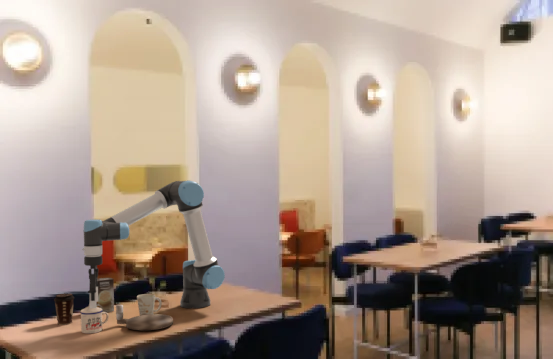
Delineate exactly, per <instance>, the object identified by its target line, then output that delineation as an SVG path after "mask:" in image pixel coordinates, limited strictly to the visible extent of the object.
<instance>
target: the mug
mask: <svg viewBox="0 0 553 359" xmlns="http://www.w3.org/2000/svg"><path fill="white" fill-rule="evenodd" d="M136 300H137V307H138V313H139V316H141V315H150V314H154V313H156V312H158V311H160V309H161V307H162V304H163V302H162V300H161V298H160V297H157V296H156V294H153V293H144V294H138V295H137V296H136ZM156 301H158V304H159V305H158V307H157V309H155V302H156Z"/></svg>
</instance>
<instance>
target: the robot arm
mask: <svg viewBox="0 0 553 359" xmlns="http://www.w3.org/2000/svg"><path fill="white" fill-rule="evenodd" d="M204 197H205V192H204V189H203V186H201V185H200V184H199V183H198V182H197V181H193V180H175V181H173V182H170V183H168V184H166V185H165V186H163V187H160V188H159V189H157V190H155V192H154V194H152V195H150V196H148V197H147V198H144V199H142V200H141V201H138V202H137V203H135V204H133V205H132V206H128V208H125V209H124V210H122V211H119V212H117V213H116V214H114V215H112V216H110V217H108V218H106V219H104V220H101V219H86V220H84V222H83V248H82V251H83V255H84V261H83V265H85V267H86V266H87V267H89V266H90V268H88V272H87V273H88V279H89V290H88V291H87V294H89V304H90V308H97V305H96V302H98V287H96V286H99V284H98V279H99V278H98V276H99V267H98V266H100V265H102V264H103V242H107V241H121V240H127V239H128V238H129V237H130V226H131V225H133V224H136V222H138V221H140V220H142V219H144V218H147V216H149V215H151V214H153V213H155V212H157V211H159V210H161V209H167V208H169V207H172V206H177V208H178V209H177V210H178V212H179V213H181V214H182V216H183V219H184V222H185V227H186V230H187V235H188V237H189V241H190V245H191V249H192V252H193V256H194V259H190V260H185V261H183V263H182V280H183V281H182V282H183V285H182V286H183V290H182V295H181V298H180V307H181V308H183V309H201V308H207V307H210V306H211V298H210V295H209V292H208V290H216V289H218V288H220V287H221V286H222V284H223V282H224V281H225V278H226V277H225V276H226V274H225V273H226V272H225V270H224V269H223V267H222V266H220V265H219V262H218V259H217V257H215V256H214V255H213V251H212V247H211V245H210V241H209V236H208V234H207V233H208V232H207V229H206V226H205V221H204V218H203V214H202V211H201V210H202V208H203V205H204V204H203V199H204ZM206 306H207V307H206Z"/></svg>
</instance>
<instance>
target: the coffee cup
mask: <svg viewBox="0 0 553 359" xmlns="http://www.w3.org/2000/svg"><path fill="white" fill-rule="evenodd" d="M74 299H75V296H74V295H73V293H67V292H66V293H65V292H64V293H58V294H56V295H55V298H54V299H53V301H54V306H55V312H56V320H57V325H58V324H59V326H63V325H64V326H65V325H69V324H72V323H73V316H74V315H73V314H74V313H73V312H74Z"/></svg>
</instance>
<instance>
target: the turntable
mask: <svg viewBox="0 0 553 359" xmlns="http://www.w3.org/2000/svg"><path fill="white" fill-rule="evenodd" d="M115 312H116V313H115V314H116V316H115V317H116V325H125V327H126V328H127V329H128V330H134V331H140V330H151V331H156V330H155V329H158V330H161V329H164V328H168V327H170V326H172V325H173V322H174V319H173V317H172V316H171V315H167V314H160V313H159V314H157V313H155V314H154V313H153V314H150V315H141V316H140V315H137V316H133V317H129V318H124V305H123V304H116V305H115Z"/></svg>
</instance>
